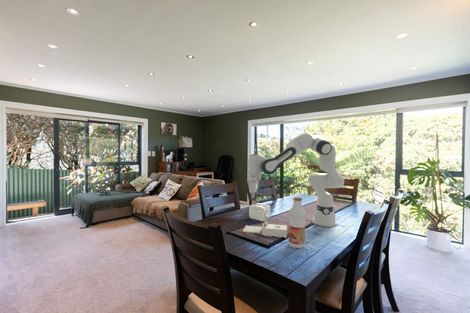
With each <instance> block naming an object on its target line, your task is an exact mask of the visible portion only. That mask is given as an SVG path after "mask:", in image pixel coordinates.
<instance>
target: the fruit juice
mask: <svg viewBox="0 0 470 313" xmlns="http://www.w3.org/2000/svg"><path fill="white" fill-rule="evenodd" d="M292 200H293V204H292V206H291V208H290V209H289V212H288V213H289V219H288V241H287V242H288V245H289V247H291V248H293V249H294V248H295V249H303V248H305V245H306V220H305V217H306V211H305V209H304V207H303V204H302V201H303V198H302V197H296V196H295V197H293V199H292Z"/></svg>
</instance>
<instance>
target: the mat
mask: <svg viewBox="0 0 470 313" xmlns="http://www.w3.org/2000/svg"><path fill="white" fill-rule="evenodd" d="M261 230H262V226H256V225H247V224H246V225H245V226H244V228H243V229H242V233H245V232H246V234H255V233H258V234H259V235H262V231H261ZM258 234H257V235H258Z"/></svg>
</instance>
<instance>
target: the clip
mask: <svg viewBox="0 0 470 313" xmlns="http://www.w3.org/2000/svg"><path fill="white" fill-rule="evenodd" d="M267 217H268V211H265V213H264V221H263V224H264V226H267V224H268V219H267Z"/></svg>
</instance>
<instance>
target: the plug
mask: <svg viewBox="0 0 470 313" xmlns="http://www.w3.org/2000/svg"><path fill="white" fill-rule="evenodd" d="M258 197H262V194H259V193H258V192H257V191H256V192H255V197H254V198H252V193H250V192H249V201H251V205H255V204H256V201H258Z"/></svg>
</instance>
